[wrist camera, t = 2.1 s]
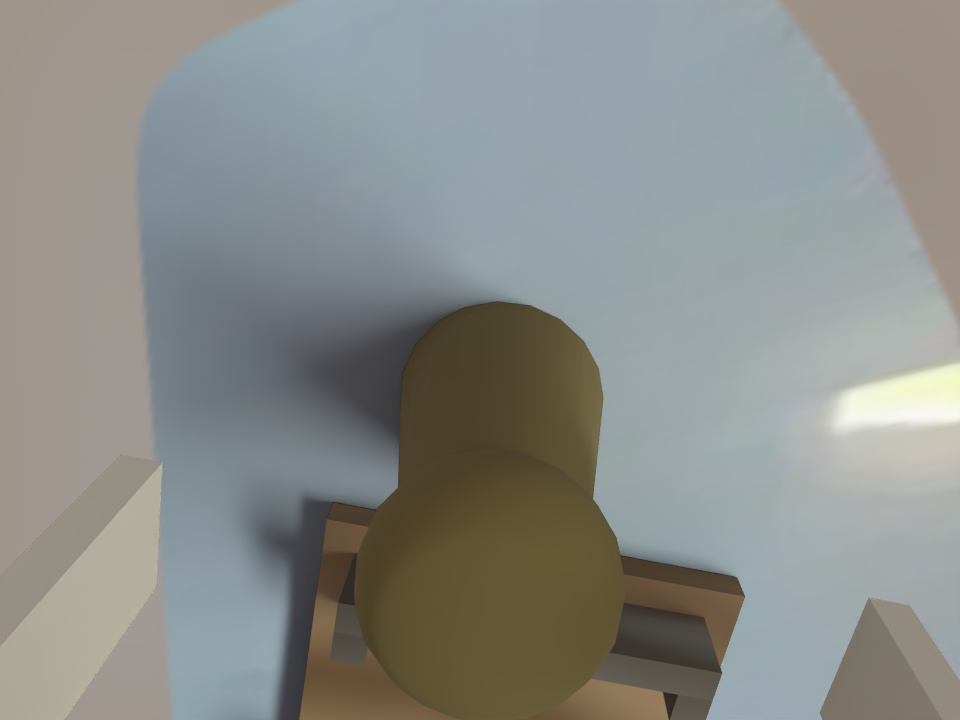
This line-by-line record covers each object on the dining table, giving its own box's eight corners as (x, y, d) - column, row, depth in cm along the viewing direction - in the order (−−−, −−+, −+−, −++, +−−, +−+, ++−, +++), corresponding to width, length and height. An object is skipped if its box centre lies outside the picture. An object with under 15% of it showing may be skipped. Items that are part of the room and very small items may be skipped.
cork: (379, 459, 26) (283, 730, 15) (428, 276, 24) (355, 447, 13) (567, 511, 26) (595, 810, 16) (631, 334, 24) (713, 545, 14)
